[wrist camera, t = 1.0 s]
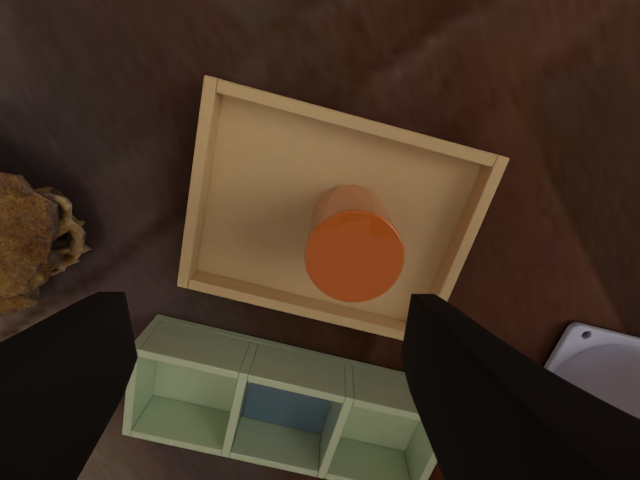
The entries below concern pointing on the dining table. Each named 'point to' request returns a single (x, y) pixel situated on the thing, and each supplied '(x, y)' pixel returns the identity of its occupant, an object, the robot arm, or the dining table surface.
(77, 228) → the decorative rock
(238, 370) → the green compartment tray
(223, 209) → the birch tray
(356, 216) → the orange cylinder
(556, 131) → the dining table surface
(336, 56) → the dining table surface
